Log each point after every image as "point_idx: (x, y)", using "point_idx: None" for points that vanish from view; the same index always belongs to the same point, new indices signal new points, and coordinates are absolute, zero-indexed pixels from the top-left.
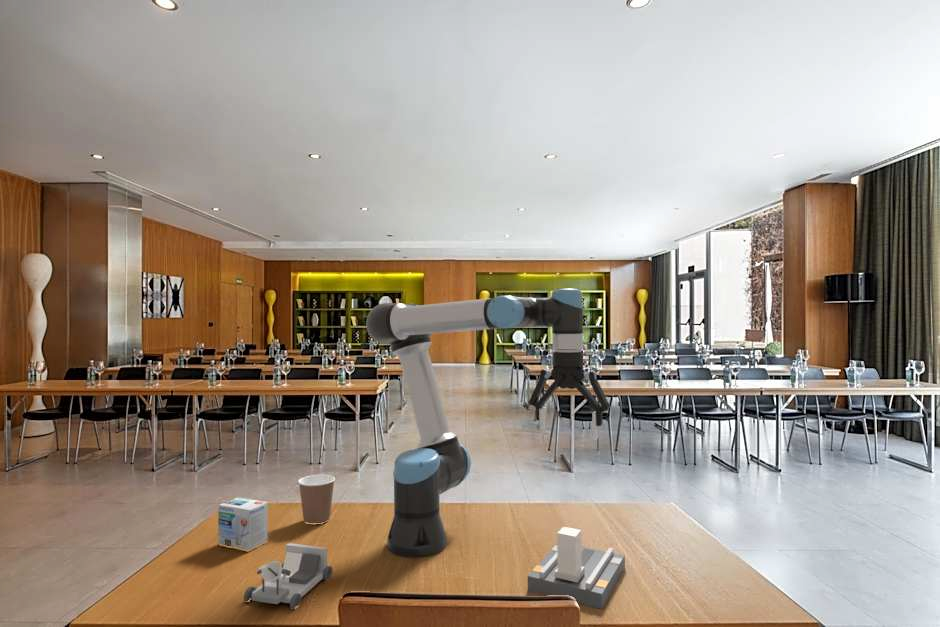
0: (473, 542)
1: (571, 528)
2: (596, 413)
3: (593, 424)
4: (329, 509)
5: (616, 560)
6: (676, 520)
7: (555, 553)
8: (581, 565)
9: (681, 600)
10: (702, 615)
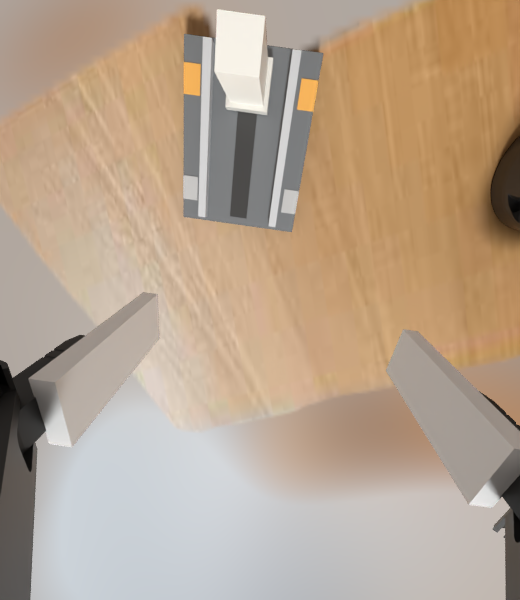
0: (438, 224)
1: (238, 71)
2: (36, 392)
3: (106, 329)
4: None
5: (190, 188)
6: (159, 388)
7: (289, 179)
8: (229, 100)
9: (98, 136)
10: (63, 97)
